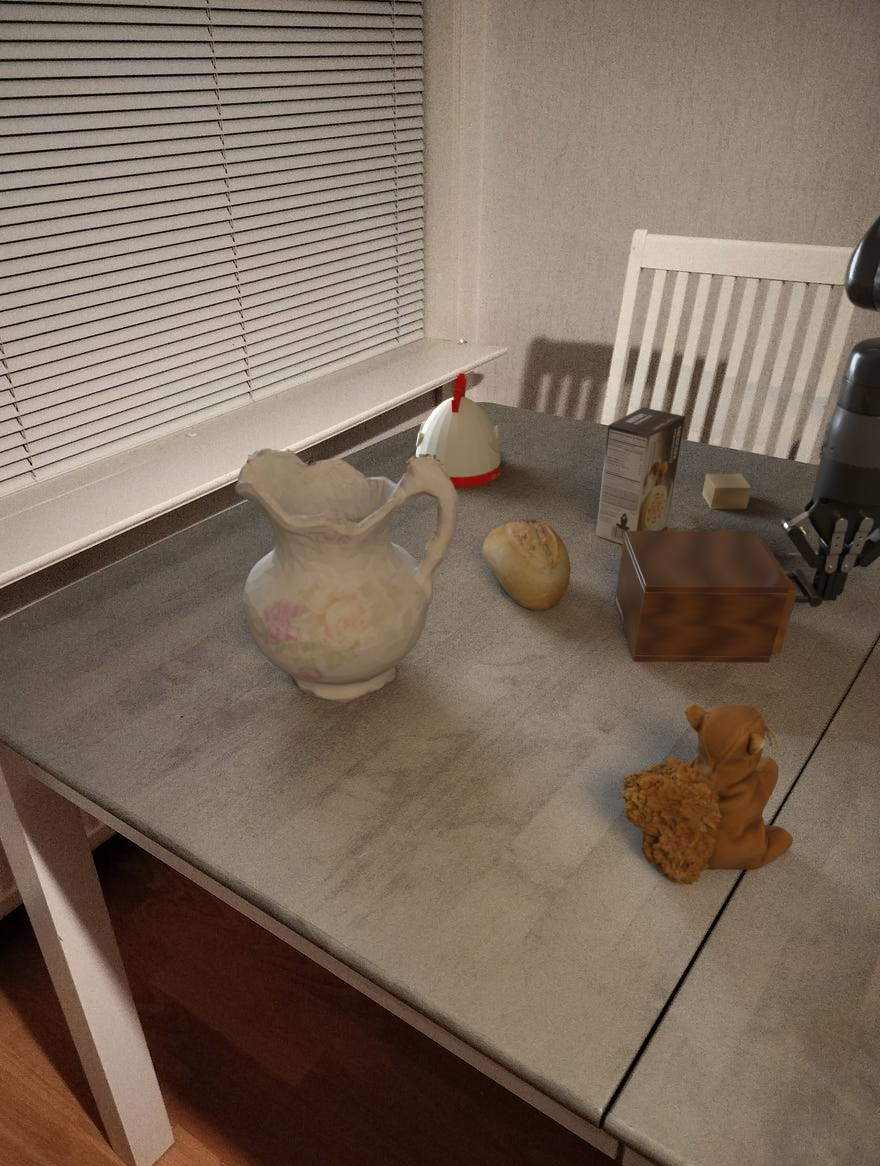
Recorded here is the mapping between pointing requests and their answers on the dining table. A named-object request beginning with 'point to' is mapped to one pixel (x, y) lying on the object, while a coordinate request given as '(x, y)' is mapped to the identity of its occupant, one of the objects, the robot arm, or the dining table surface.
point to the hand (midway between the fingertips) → (825, 596)
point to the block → (726, 491)
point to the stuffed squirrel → (709, 799)
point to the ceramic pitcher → (340, 569)
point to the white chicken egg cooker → (461, 439)
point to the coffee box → (639, 473)
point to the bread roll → (529, 562)
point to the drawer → (793, 597)
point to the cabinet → (699, 596)
